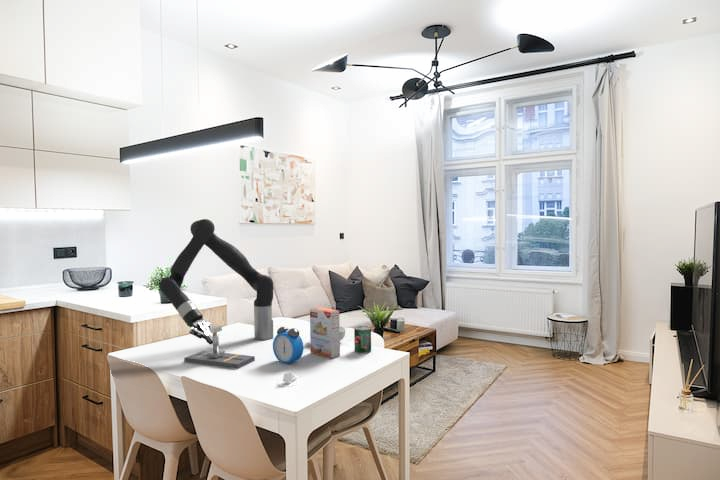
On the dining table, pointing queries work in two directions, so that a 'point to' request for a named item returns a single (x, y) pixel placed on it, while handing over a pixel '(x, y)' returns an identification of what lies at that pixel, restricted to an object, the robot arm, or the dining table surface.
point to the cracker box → (325, 332)
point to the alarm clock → (287, 345)
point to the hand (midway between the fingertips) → (212, 343)
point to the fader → (215, 343)
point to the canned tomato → (362, 339)
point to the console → (220, 360)
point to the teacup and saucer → (288, 379)
